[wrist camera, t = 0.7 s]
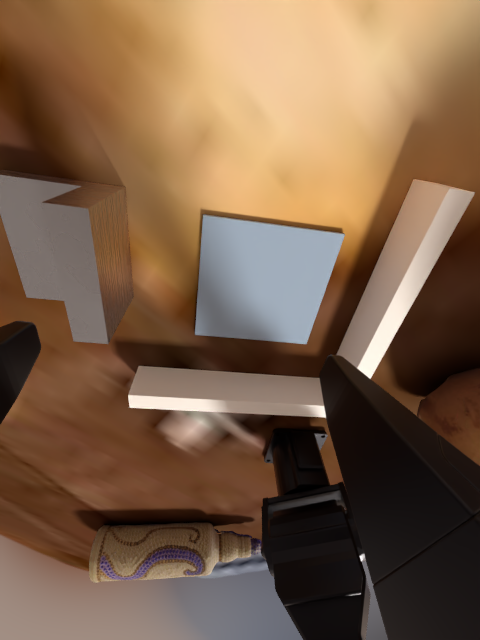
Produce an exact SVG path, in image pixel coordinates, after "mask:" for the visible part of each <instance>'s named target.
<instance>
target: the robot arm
mask: <svg viewBox="0 0 480 640" xmlns="http://www.w3.org/2000/svg"><path fill="white" fill-rule="evenodd" d="M40 350H41V343H40V339H39V336H38V332H37V328H36V326H35V324H34V323H32V322H24V321H15V322H13V323H10V324H7V325H5V326H2V327H0V424H1V423H2V421H3V419H4V418H5V416H6V415H7V413H8V412H9V410H10V409H11V407H12V405H13V404H14V402H15V401H16V399H17V397H18V395H19V393H20V392H21V390H22V388H23V386H24V384H25V382H26V380H27V378H28V376H29V374H30V372H31V369H32V367H33V365H34V363H35V361H36V359H37V357H38V355H39V353H40ZM320 385H321V391H322V397H323V403H324V409H325V415H326V420H327V424H328V428H329V431H330V435H331V438H332V442H333V445H334V449H335V452H336V456H337V459H338V463H339V466H340V470H341V474H342V477H343V481H344V484H345V486H344V484H343V482H339V483H338V484H335V485H330V483H329V479H328V476H327V473H326V470H325V466H324V463H323V460H322V456H321V453H320V449H321V447H322V446H323V444H324V442H325V440H326V438H327V433H326V432H325V431H311V430H288V429H276V430H274V431H273V433H272V436H271V439H270V442H269V445H268V448H267V451H266V454H265V456H264V461H265V462H266V463H273V464H274V471H275V477H276V484H277V490H278V496H277V497H272V498H263V506H262V542H261V554H262V556H263V557H264V558H265V559H266V561H267V564H268V568H269V571H270V573H271V575H272V576H273V577H274V579H275V589H276V592H277V594H278V596H279V598H280V600H281V601H282V603H283V605H284V606H285V608H286V610H287V612H288V614H289V615H290V617H291V619H292V621H293V622H294V624H295V626H296V628H297V629H298V631H299V633H300V635H301V636H302V638H303V640H365V639H366V631H367V622H368V614H369V605H370V590H369V586H368V583H367V579H366V575H365V571H364V569H363V565H362V562H361V561H366V562H367V566H368V569H369V573H370V576H371V580H372V583H373V584H374V585H373V588H374V591H375V595H376V598H377V602H378V605H379V609H380V612H381V616H382V620H383V623H384V627H385V630H386V634H387V637H388V640H480V466H479V465H478V464H477V463H475V462H474V461H473V460H471V459H470V458H469V457H467V456H466V455H465V454H464V453H462V452H461V451H460V450H458V449H457V448H456V447H455V446H453V445H452V444H451V443H450V442H448V441H447V440H446V439H445V438H443V437H442V436H441V435H439V434H437V432H436V431H435V430H433V429H432V428H431V427H430V426H428V425H427V424H426V423H425V422H423V421H422V420H421V419H420V418H418V417H417V416H416V415H415V414H413V413H412V412H411V411H410V410H408V409H407V408H406V407H405V406H403V405H402V404H401V403H400V402H399V401H397V400H396V399H395V398H394V397H392V396H391V395H390V394H389V393H387V392H386V391H385V390H384V389H382V388H381V387H380V386H379V385H377V384H376V383H375V382H374V381H372V380H371V379H370V378H369V377H367V376H366V375H365V374H364V373H362V372H361V371H360V370H359V369H357V368H356V367H355V366H354V365H352V364H351V363H350V362H349V361H347V360H346V359H345V358H344V357H342V356H339V355H329V356H328V357H327V359H326V361H325V363H324V365H323V367H322V369H321V372H320ZM345 488H346V489H345ZM346 491H347V492H346ZM344 508H345V509H344Z"/></svg>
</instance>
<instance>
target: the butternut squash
mask: <svg viewBox="0 0 480 640" xmlns="http://www.w3.org/2000/svg"><path fill="white" fill-rule="evenodd" d="M417 416H418V418H420V419H421V420H422V421H423V422H425V423H426V424H427V425H428V426H430V427H431V428H432V429H433V430H435V431H436V432H437V434H439V435H441V436H442V437H443V438H445V439H446V440H447V441H448V442H450V443H451V444H452V445H453V446H455V447H456V448H457V449H458V450H460V451H461V452H462V453H464V454H465V455H466V456H467V457H469V458H470V459H471V460H473V461H474V462H475V463H477V464H478V465H479V466H480V368H477V369H472V370H468V371H464V372H461V373H458V374H454V375H451V376H449V377H448V378H447V380H446V381H445V382H444V383H443V384H442V385H441V386H440V387H438V388H437V389H436V390H434V391H433V392H431V393H430V394H429V395H427V397H426V398H425V399H423V400H421V401H420V405H419V408H418V413H417Z"/></svg>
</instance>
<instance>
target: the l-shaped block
mask: <svg viewBox="0 0 480 640" xmlns="http://www.w3.org/2000/svg"><path fill="white" fill-rule="evenodd" d="M474 194H475V192H471V191H467V190H463V189H459V188H455V187H451V186H447V185H443V184H439V183H435V182H429V181H423V180H417V179H413V182H412V184H411V186H410V189H409V191H408V193H407V195H406V198H405V200H404V202H403V204H402V207H401V209H400V211H399V214H398V216H397V218H396V220H395V223H394V225H393V227H392V229H391V232H390V234H389V236H388V239H387V241H386V243H385V245H384V248H383V250H382V252H381V255H380V257H379V259H378V261H377V264H376V266H375V268H374V270H373V273H372V275H371V277H370V280H369V282H368V284H367V286H366V289H365V291H364V293H363V295H362V298H361V300H360V302H359V305H358V307H357V309H356V311H355V314H354V316H353V318H352V320H351V323H350V325H349V327H348V330H347V332H346V334H345V336H344V339H343V341H342V343H341V345H340V348H339V350H338V352H337V355H339V356H342V357H344V358H345V359H346V360H347V361H349V362H350V363H351V364H352V365H354V366H355V367H356V368H357V369H359V370H360V371H361V372H362V373H364V374H365V375H366V376H367V377H369V378H370V379H371V377H372V375H373V373H374V371H375V370H376V368H377V366H378V364H379V363H380V361H381V359H382V357H383V355H384V354H385V352H386V350H387V348H388V347H389V345H390V343H391V341H392V339H393V338H394V336H395V334H396V332H397V331H398V329H399V327H400V325H401V324H402V322H403V320H404V318H405V316H406V315H407V313H408V311H409V309H410V308H411V306H412V304H413V302H414V300H415V299H416V297H417V295H418V293H419V292H420V290H421V288H422V286H423V284H424V283H425V281H426V279H427V277H428V276H429V274H430V272H431V270H432V268H433V267H434V265H435V263H436V261H437V260H438V258H439V256H440V254H441V252H442V251H443V249H444V247H445V245H446V244H447V242H448V240H449V238H450V237H451V235H452V233H453V231H454V229H455V228H456V226H457V224H458V222H459V221H460V219H461V217H462V215H463V213H464V212H465V210H466V208H467V206H468V205H469V203H470V201H471V199H472V197H473V196H474ZM128 398H129V406H130V408H147V409H167V410H187V411H207V412H227V413H247V414H267V415H287V416H307V417H326V415H325V409H324V403H323V397H322V391H321V385H320V378H311V377H296V376H282V375H267V374H252V373H238V372H223V371H208V370H194V369H179V368H164V367H149V366H138V369H137V372H136V375H135V377H134V380H133V383H132V386H131V389H130V391H129V394H128Z"/></svg>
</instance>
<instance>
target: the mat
mask: <svg viewBox="0 0 480 640" xmlns="http://www.w3.org/2000/svg"><path fill="white" fill-rule="evenodd" d="M344 236H345V234H344V233H338V232H331V231H324V230H316V229H309V228H301V227H294V226H287V225H279V224H272V223H265V222H257V221H250V220H242V219H235V218H228V217H220V216H213V215H206V214H203V224H202V238H201V253H200V268H199V282H198V297H197V312H196V326H195V335H203V336H215V337H227V338H240V339H252V340H264V341H276V342H288V343H300V344H307V341H308V338H309V335H310V332H311V329H312V327H313V324H314V321H315V318H316V315H317V312H318V310H319V307H320V304H321V301H322V298H323V295H324V293H325V290H326V287H327V284H328V281H329V278H330V275H331V273H332V270H333V267H334V264H335V261H336V258H337V256H338V253H339V250H340V247H341V244H342V241H343V239H344Z"/></svg>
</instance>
